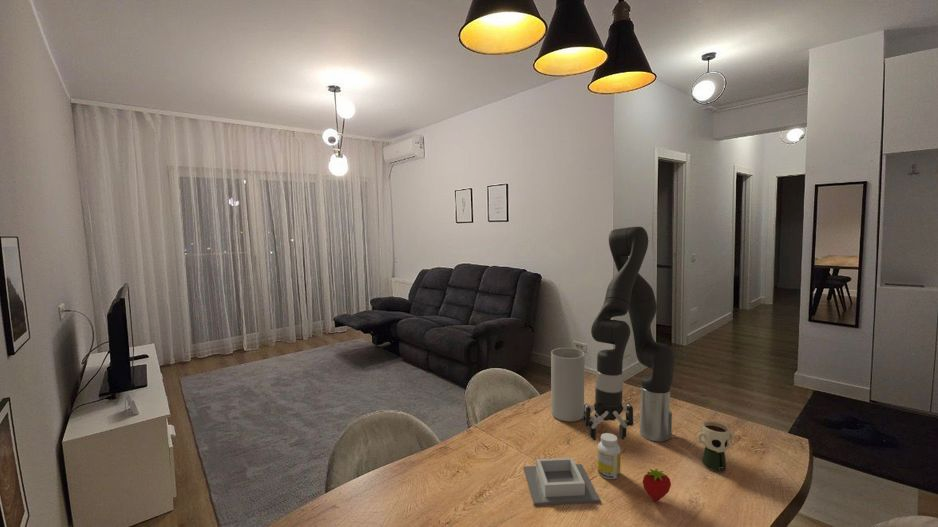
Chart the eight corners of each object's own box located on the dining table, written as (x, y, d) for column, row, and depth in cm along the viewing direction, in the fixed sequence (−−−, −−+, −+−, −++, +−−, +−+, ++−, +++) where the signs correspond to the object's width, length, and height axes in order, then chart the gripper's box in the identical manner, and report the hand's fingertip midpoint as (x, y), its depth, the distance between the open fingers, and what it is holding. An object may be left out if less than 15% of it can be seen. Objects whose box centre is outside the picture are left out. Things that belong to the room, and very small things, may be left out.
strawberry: (676, 506, 106) (677, 470, 105) (651, 511, 104) (652, 475, 103) (660, 491, 112) (661, 457, 111) (636, 496, 110) (637, 462, 109)
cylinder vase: (587, 422, 151) (588, 358, 148) (554, 422, 151) (554, 358, 148) (579, 407, 163) (579, 347, 161) (548, 407, 163) (548, 348, 161)
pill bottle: (616, 467, 123) (617, 431, 122) (622, 481, 117) (623, 443, 116) (595, 466, 124) (595, 430, 123) (599, 480, 118) (600, 442, 116)
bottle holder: (581, 466, 124) (581, 453, 124) (600, 502, 108) (600, 487, 108) (523, 468, 124) (523, 455, 123) (533, 505, 108) (533, 490, 107)
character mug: (704, 475, 119) (706, 433, 117) (689, 461, 126) (691, 421, 124) (739, 472, 119) (741, 431, 118) (722, 458, 126) (724, 419, 125)
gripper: (627, 380, 122) (625, 431, 123) (581, 381, 121) (579, 432, 123) (638, 391, 114) (636, 445, 116) (589, 391, 114) (587, 446, 116)
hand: (607, 438), depth 119 cm, fingers open, 8 cm apart
